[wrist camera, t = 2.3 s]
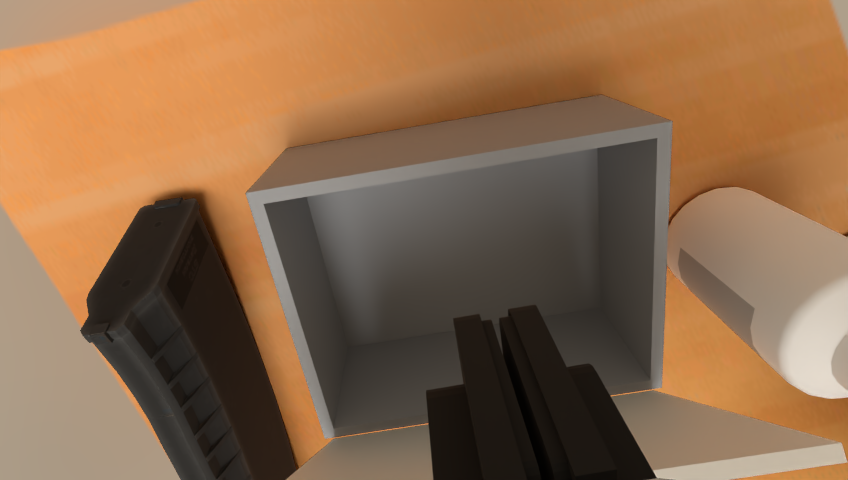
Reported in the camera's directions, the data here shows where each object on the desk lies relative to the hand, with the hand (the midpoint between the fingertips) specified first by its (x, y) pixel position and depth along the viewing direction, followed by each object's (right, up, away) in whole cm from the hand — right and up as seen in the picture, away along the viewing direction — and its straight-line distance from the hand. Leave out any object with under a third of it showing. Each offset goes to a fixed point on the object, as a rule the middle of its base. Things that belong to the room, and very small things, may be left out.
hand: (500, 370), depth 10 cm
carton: (+1, +3, +21) cm, 21 cm away
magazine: (-14, -8, +26) cm, 30 cm away
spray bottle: (+17, +3, +22) cm, 28 cm away
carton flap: (+2, -5, +10) cm, 11 cm away
